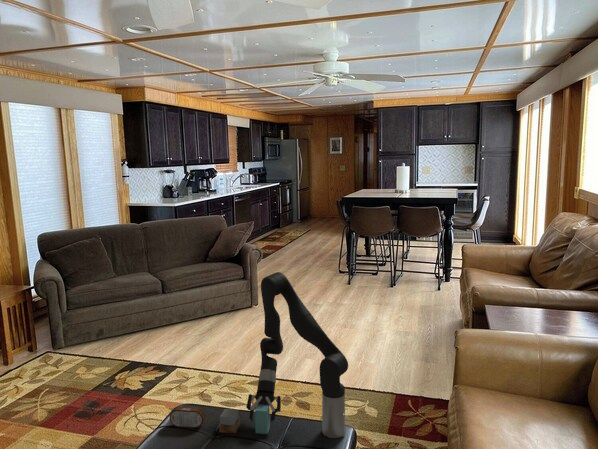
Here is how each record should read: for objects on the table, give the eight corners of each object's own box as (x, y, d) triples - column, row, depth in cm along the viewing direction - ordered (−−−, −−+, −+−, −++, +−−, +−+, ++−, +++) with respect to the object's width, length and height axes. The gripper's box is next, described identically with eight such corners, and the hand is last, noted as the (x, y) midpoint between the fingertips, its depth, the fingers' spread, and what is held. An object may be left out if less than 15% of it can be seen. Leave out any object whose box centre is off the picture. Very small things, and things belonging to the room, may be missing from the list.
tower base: (240, 424, 196) (239, 416, 196) (235, 433, 189) (235, 426, 189) (224, 423, 197) (224, 415, 197) (219, 432, 190) (219, 425, 190)
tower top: (238, 417, 195) (238, 410, 194) (233, 425, 189) (233, 417, 189) (225, 416, 196) (225, 408, 196) (220, 424, 190) (219, 416, 190)
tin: (205, 425, 195) (205, 406, 194) (203, 429, 192) (202, 410, 191) (171, 423, 197) (170, 405, 196) (169, 427, 194) (168, 409, 193)
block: (269, 427, 193) (269, 405, 192) (267, 434, 188) (266, 411, 187) (258, 426, 194) (257, 404, 193) (255, 433, 189) (255, 410, 188)
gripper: (249, 378, 197) (243, 417, 187) (281, 380, 195) (277, 420, 185) (252, 384, 203) (246, 422, 193) (284, 385, 201) (279, 424, 191)
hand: (261, 421), depth 189 cm, fingers open, 8 cm apart
